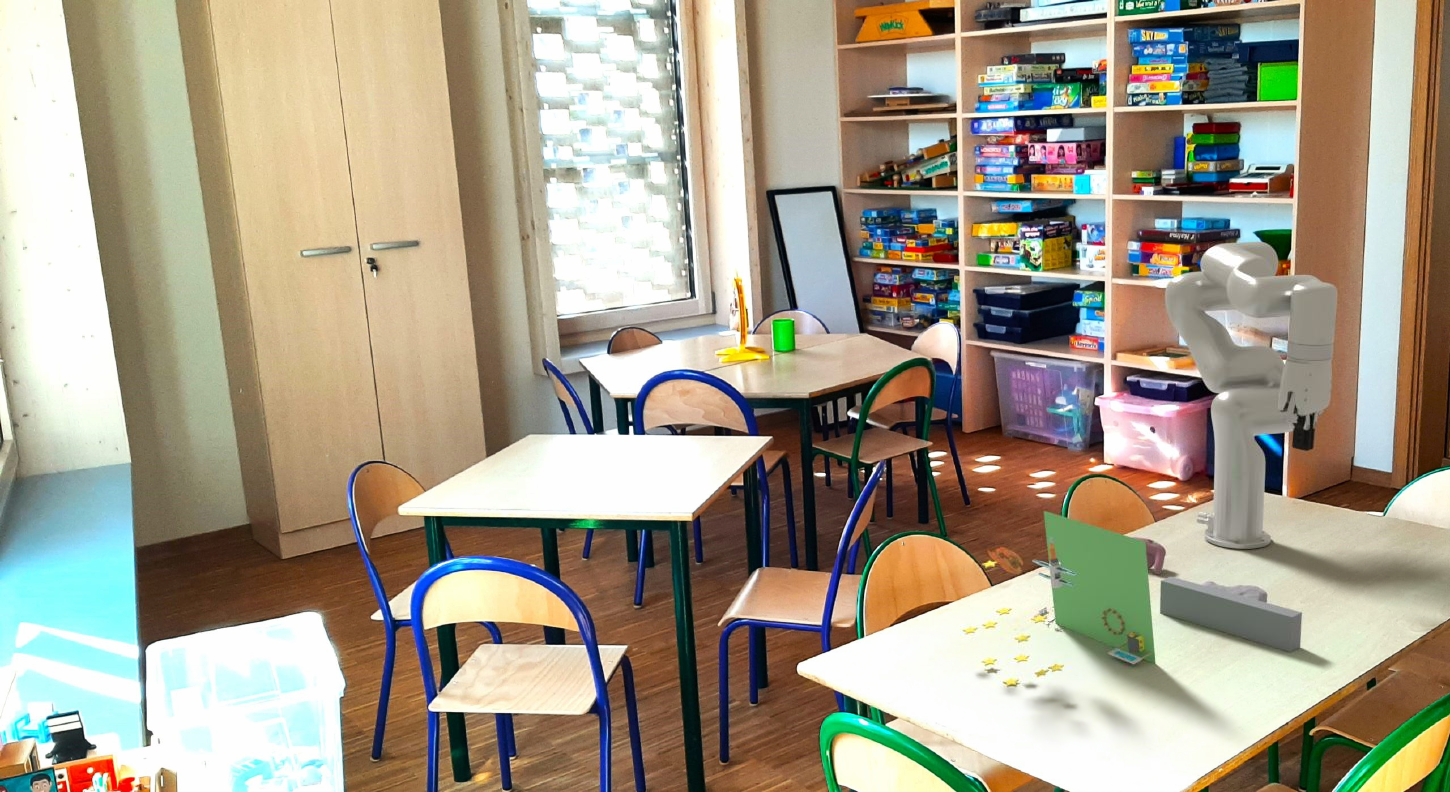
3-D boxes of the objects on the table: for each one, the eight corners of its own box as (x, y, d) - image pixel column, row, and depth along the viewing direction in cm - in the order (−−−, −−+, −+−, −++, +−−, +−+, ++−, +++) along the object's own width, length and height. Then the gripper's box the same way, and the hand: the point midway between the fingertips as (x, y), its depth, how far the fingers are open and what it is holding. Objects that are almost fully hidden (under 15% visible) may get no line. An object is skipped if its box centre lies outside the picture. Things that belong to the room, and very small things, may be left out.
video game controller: (1164, 577, 244) (1169, 542, 245) (1159, 574, 240) (1164, 538, 241) (1113, 570, 249) (1118, 535, 250) (1107, 567, 245) (1112, 531, 246)
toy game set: (950, 677, 209) (933, 545, 202) (1057, 622, 221) (1044, 496, 214) (1046, 725, 191) (1030, 582, 184) (1157, 662, 202) (1146, 526, 196)
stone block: (1259, 635, 216) (1269, 605, 223) (1258, 611, 214) (1268, 581, 222) (1187, 626, 222) (1199, 597, 230) (1185, 602, 221) (1198, 574, 228)
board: (1160, 612, 223) (1160, 580, 221) (1169, 608, 224) (1170, 576, 223) (1290, 652, 204) (1292, 617, 203) (1300, 646, 206) (1301, 612, 204)
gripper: (1312, 341, 234) (1305, 436, 239) (1267, 354, 226) (1260, 452, 230) (1352, 347, 228) (1344, 444, 233) (1306, 361, 220) (1299, 461, 224)
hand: (1302, 448), depth 231 cm, fingers closed
